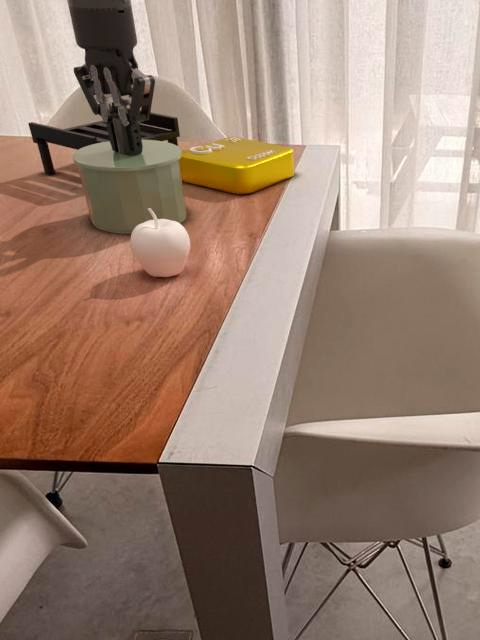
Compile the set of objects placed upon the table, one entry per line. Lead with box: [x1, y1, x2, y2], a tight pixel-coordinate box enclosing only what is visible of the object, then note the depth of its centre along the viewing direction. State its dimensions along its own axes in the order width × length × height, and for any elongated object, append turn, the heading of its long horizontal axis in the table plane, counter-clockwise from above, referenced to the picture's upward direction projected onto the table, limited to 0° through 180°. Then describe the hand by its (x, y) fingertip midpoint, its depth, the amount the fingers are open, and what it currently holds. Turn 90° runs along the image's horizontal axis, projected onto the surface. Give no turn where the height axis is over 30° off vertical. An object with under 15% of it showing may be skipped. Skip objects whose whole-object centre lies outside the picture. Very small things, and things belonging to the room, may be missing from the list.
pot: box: [77, 160, 188, 235], centre depth 99 cm, size 14×14×8 cm
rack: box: [27, 105, 181, 176], centre depth 117 cm, size 18×16×8 cm
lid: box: [71, 115, 183, 171], centre depth 94 cm, size 15×15×6 cm
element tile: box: [179, 136, 295, 195], centre depth 116 cm, size 15×15×5 cm
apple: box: [130, 208, 191, 278], centre depth 84 cm, size 7×7×8 cm
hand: (127, 151), depth 96 cm, fingers closed on lid, 2 cm apart
